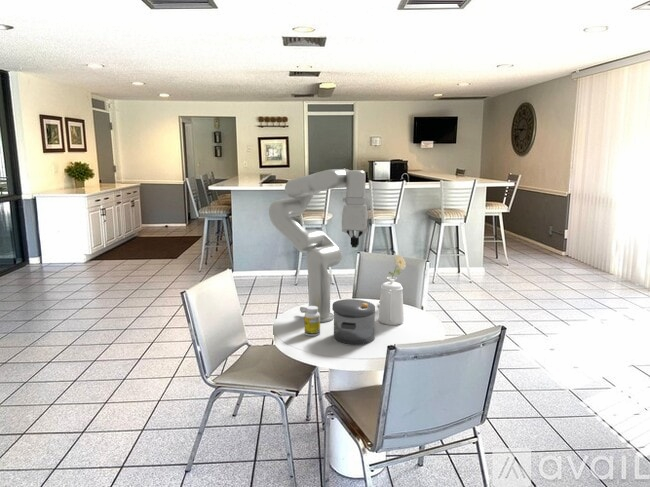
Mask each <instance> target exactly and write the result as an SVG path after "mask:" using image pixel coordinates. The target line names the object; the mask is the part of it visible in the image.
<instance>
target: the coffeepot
mask: <svg viewBox="0 0 650 487" xmlns="http://www.w3.org/2000/svg"><path fill="white" fill-rule="evenodd" d="M389 281H390V282H388V281H386V282H383V283H382V285H381V286H380V299H379V301H380V303H379V307H378V316H377V317H378V318H377V319H378V321H379V323H380V324H383V325H385V326H397V325H401V324H402V323H403V322H404V320H405V319H404V318H405V317H404V314H405V313H404V298H403V296H404V295H403V289H404V288H403V286H402V284H401V283H400V282H397V281H395V282H394V279H390V280H389Z"/></svg>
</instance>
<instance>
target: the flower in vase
mask: <svg viewBox="0 0 650 487" xmlns="http://www.w3.org/2000/svg"><path fill="white" fill-rule="evenodd" d="M394 263H395V268H394V271H393V272H391V271H388V274H389V275H390V276H387V277H386V279H387V280H386V281H387V282H390V281H389V280H390V279H394V282H397V281H396V280H398V277H396V276H394V275H395V274H396V275H401V273H402V271H405V269H406V267H407V263H406V260H405V259H404V257H403V256H402V255H401V254H400V253H399V254H398V253H396V255H395V256H394ZM379 304H380V300H379Z"/></svg>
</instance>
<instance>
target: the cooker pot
mask: <svg viewBox="0 0 650 487" xmlns="http://www.w3.org/2000/svg"><path fill="white" fill-rule="evenodd" d="M333 315H334V318H333V339H334V341H336V342H337V343H339V344H343V345H347V346H363V345H367V344H370V343H372V342H374V340H375V336H376V335H375V333H376V332H375V331H376V330H375V325H376V324H375V322H376V312H375V313H374V314H372V315H370V316H365V317H349V316H344V315H340V314H337V313H335V312H334V311H333Z"/></svg>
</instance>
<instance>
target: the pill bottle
mask: <svg viewBox="0 0 650 487" xmlns="http://www.w3.org/2000/svg"><path fill="white" fill-rule="evenodd" d="M305 308H306V311H307V312H306V313H304V334H305V336H307V337H317V336H319V335H320V334H321V322H320V314H319V312H318V307H317V306H309V305H308V306H306V307H305Z"/></svg>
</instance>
